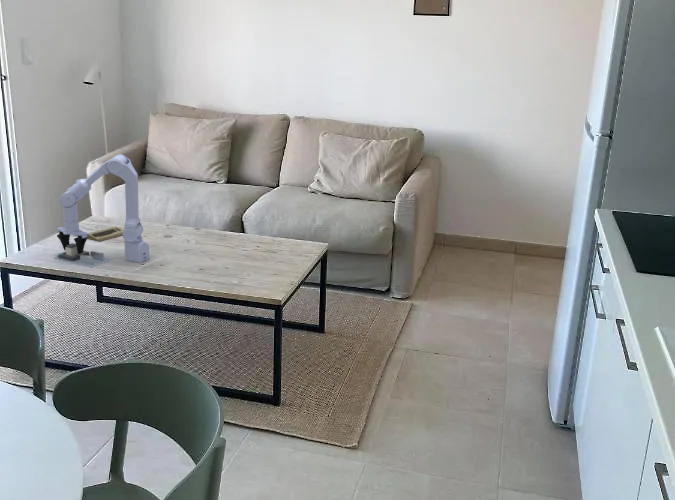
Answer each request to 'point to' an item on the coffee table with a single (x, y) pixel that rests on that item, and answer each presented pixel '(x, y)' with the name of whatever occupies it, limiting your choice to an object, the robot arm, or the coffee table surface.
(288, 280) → the coffee table surface
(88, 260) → the plate with twin rails
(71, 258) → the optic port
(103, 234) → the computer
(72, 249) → the plug
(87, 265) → the panel board
